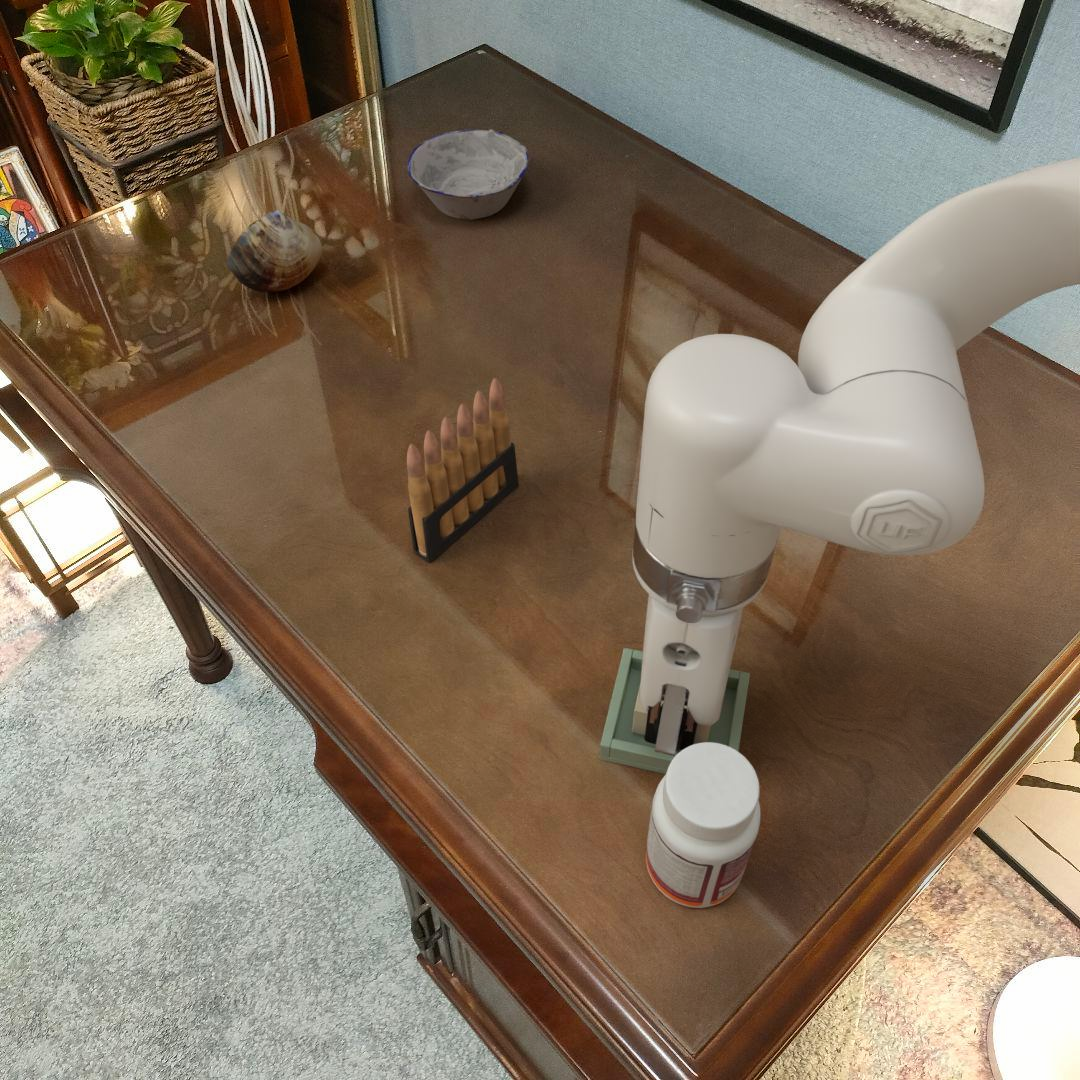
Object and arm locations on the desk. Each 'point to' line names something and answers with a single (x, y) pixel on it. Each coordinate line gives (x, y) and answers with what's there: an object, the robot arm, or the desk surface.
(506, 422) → the ammunition clip
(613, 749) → the shallow square green tray
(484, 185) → the bowl
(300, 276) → the seashell
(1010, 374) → the desk surface
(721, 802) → the pill bottle
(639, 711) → the beige block
